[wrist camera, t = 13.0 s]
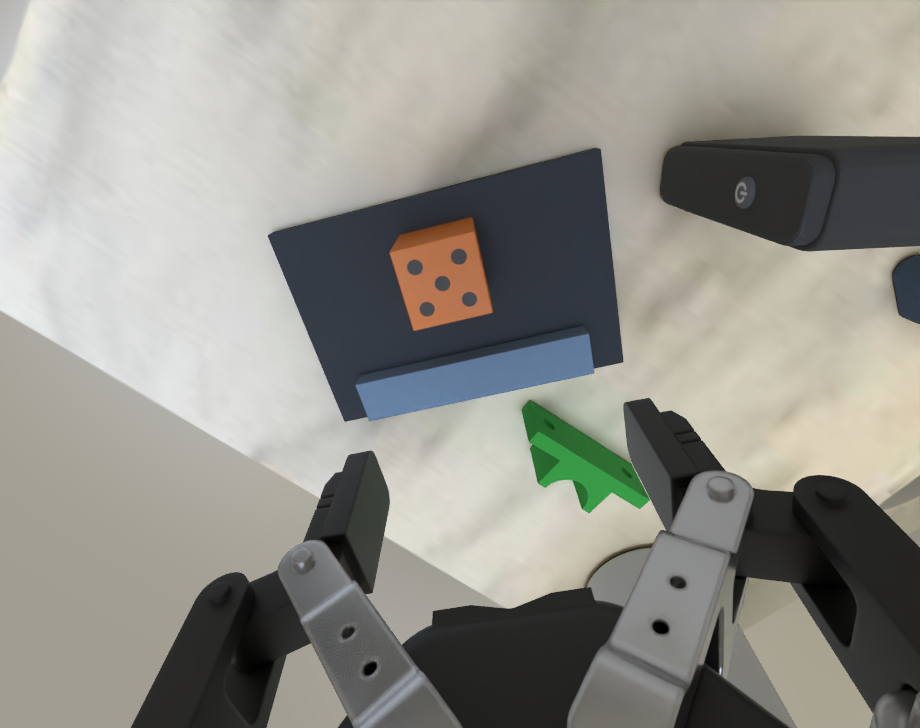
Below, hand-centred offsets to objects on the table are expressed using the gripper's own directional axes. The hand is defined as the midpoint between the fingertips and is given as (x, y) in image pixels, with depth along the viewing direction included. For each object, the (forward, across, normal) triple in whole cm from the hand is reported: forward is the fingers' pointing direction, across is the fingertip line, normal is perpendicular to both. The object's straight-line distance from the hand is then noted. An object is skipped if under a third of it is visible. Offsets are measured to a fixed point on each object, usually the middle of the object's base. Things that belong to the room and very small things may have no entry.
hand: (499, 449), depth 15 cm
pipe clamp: (+21, -4, +16) cm, 27 cm away
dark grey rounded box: (+21, -17, -3) cm, 27 cm away
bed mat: (+21, +2, +2) cm, 21 cm away
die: (+20, +2, -2) cm, 20 cm away
